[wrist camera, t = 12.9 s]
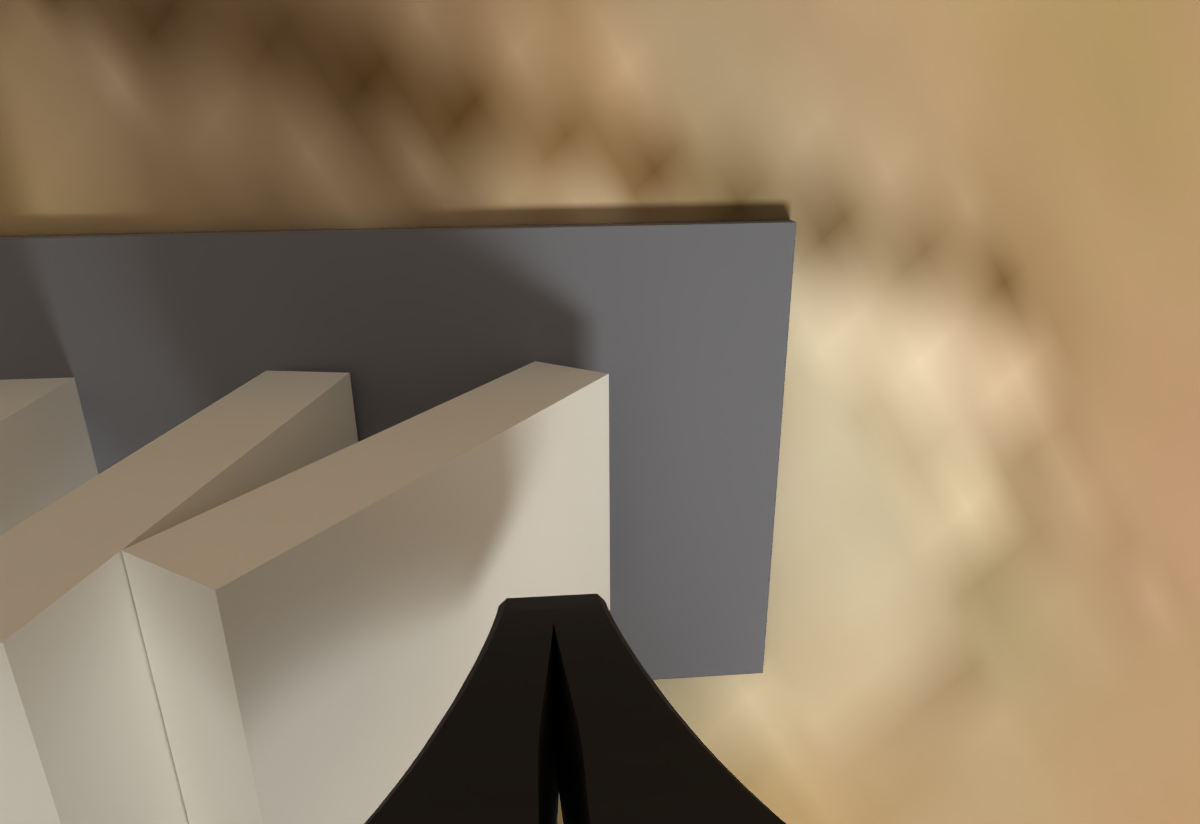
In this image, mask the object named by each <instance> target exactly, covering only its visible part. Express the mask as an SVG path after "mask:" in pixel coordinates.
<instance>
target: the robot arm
mask: <svg viewBox="0 0 1200 824" xmlns="http://www.w3.org/2000/svg"><path fill="white" fill-rule="evenodd" d="M559 794H560V802H561V809H562V816H563V823H564V824H786V823H785V822H783V821H782V820H781V819H780V818H779V817H777V816H776V815H775V814H774V813H773V812H772V811H771V810H770V809H769V808H768V807H766V806H765V805H764V804H763V803H762V802H761V801H760V800H759V799H758V798H757V797H756V796H755V795H753V794H752V793H751V792H750V791H749V790H748V789H747V788H746V787H745V786H744V785H743V784H742V783H741V782H740V781H739V780H738V779H737V778H736V777H735V776H734V775H733V774H732V773H731V772H730V771H729V770H728V769H727V768H726V767H725V766H724V765H723V764H722V763H721V762H720V761H719V760H718V759H717V758H716V757H715V756H714V754H713V753H712V752H711V751H710V750H709V749H708V748H707V747H706V746H705V745H704V743H703V742H702V741H701V740H700V739H699V738H698V737H697V736H696V734H695V733H694V732H693V731H692V730H691V728H690V727H689V726H688V725H687V724H686V722H685V721H684V720H683V719H682V718H681V717H680V715H679V714H678V713H677V712H676V710H675V709H674V708H673V707H672V705H671V704H670V703H669V701H668V700H667V699H666V698H665V696H664V695H663V694H662V692H661V691H660V690H659V688H658V687H657V685H656V684H655V683H654V681H653V680H652V679H651V677H650V676H649V674H648V673H647V672H646V670H645V669H644V667H643V666H642V665H641V663H640V662H639V660H638V659H637V657H636V656H635V654H634V653H633V651H632V649H631V648H630V646H629V645H628V643H627V641H626V640H625V638H624V637H623V635H622V633H621V631H620V630H619V628H618V626H617V624H616V623H615V621H614V619H613V617H612V615H611V613H610V611H609V609H608V607H607V604H606V602H605V600H604V599H603V598H601V597H600V596H599V595H598V594H578V595H559V596H540V597H521V598H506V599H505V600H504V601H503V602H502V603H501V604H500V605H499V606H498V610H497V614H496V617H495V619H494V622H493V625H492V627H491V630H490V632H489V634H488V636H487V639H486V641H485V643H484V645H483V647H482V649H481V651H480V653H479V655H478V657H477V660H476V661H475V663H474V665H473V667H472V669H471V671H470V672H469V674H468V676H467V678H466V680H465V681H464V683H463V685H462V687H461V689H460V690H459V692H458V694H457V696H456V698H455V699H454V701H453V703H452V704H451V706H450V707H449V709H448V711H447V712H446V714H445V715H444V717H443V718H442V720H441V721H440V723H439V724H438V726H437V727H436V729H435V730H434V732H433V734H432V735H431V737H430V738H429V740H428V741H427V743H426V744H425V746H424V747H423V749H422V750H421V752H420V753H419V754H418V756H417V757H416V759H415V760H414V761H413V763H412V764H411V766H410V767H409V768H408V770H407V771H406V772H405V774H404V775H403V776H402V778H401V779H400V780H399V782H398V783H397V784H396V785H395V787H394V788H393V789H392V790H391V792H390V793H389V794H388V795H387V797H386V798H385V799H384V801H383V802H382V803H381V804H380V806H379V807H378V808H377V809H376V810H375V812H374V813H373V814H372V815H371V816H370V817H369V819H368V820H367V821H366V822H365V823H364V824H557V814H558V795H559Z"/></svg>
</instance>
